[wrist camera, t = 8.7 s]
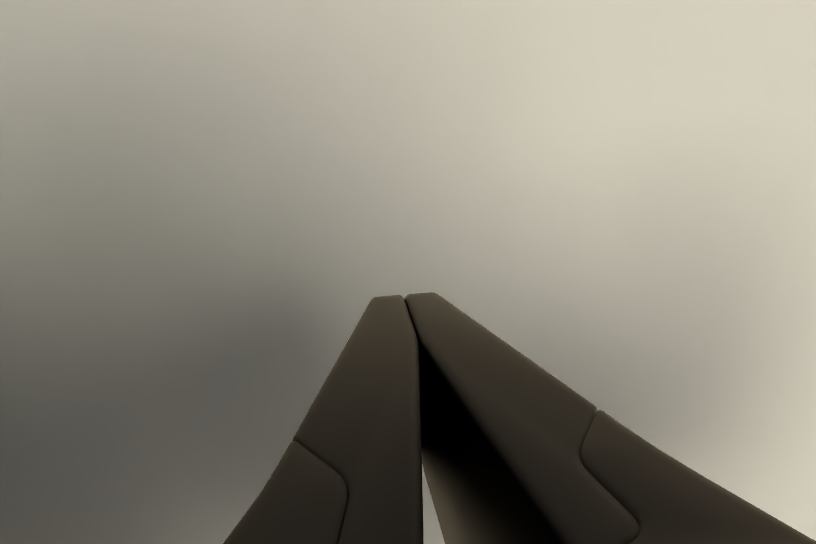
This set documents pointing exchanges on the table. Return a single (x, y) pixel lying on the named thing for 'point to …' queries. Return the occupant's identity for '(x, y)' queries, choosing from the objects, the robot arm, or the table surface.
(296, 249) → the table surface
